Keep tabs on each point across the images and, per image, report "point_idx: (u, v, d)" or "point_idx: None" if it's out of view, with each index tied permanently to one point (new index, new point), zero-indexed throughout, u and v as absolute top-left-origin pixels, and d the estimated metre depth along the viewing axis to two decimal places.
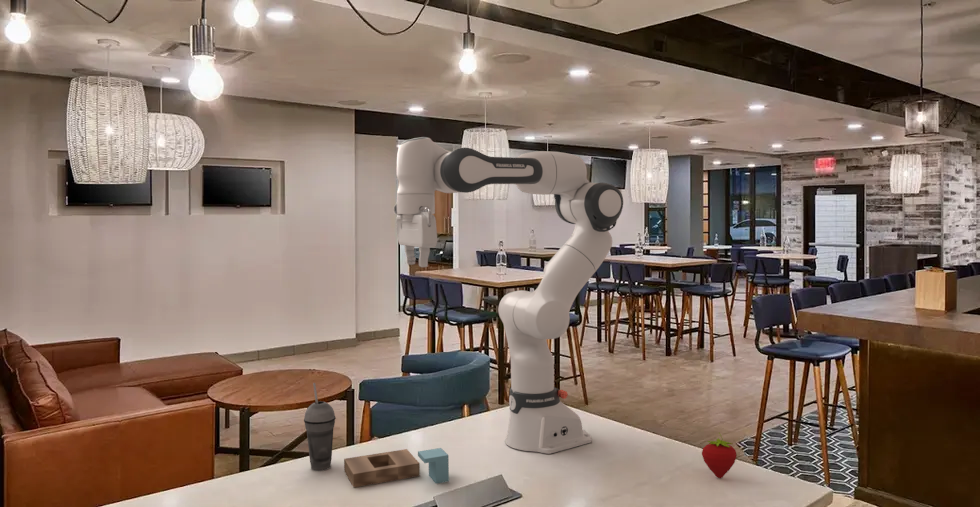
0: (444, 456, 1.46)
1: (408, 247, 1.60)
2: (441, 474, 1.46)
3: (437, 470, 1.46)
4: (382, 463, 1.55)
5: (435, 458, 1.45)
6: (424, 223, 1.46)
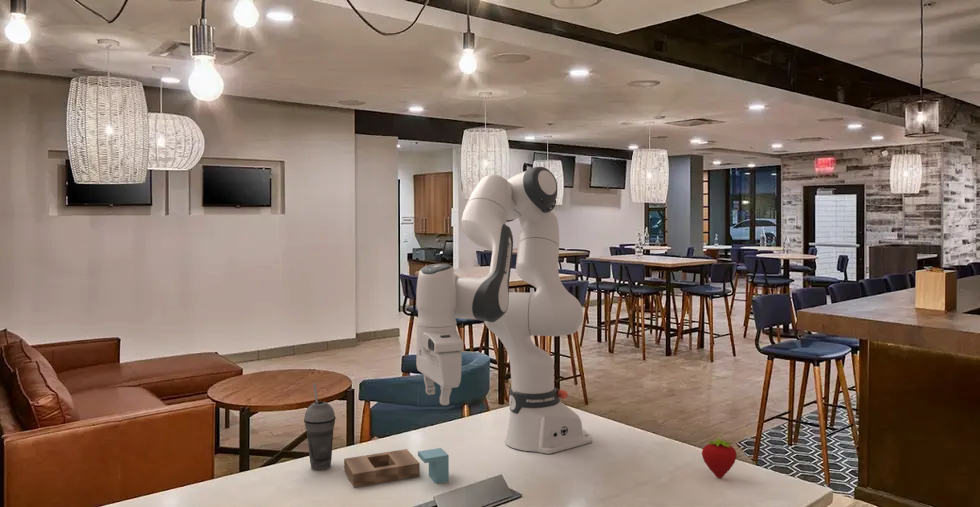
0: (444, 456, 1.46)
1: None
2: (441, 474, 1.46)
3: (437, 469, 1.46)
4: (382, 463, 1.55)
5: (435, 458, 1.45)
6: None
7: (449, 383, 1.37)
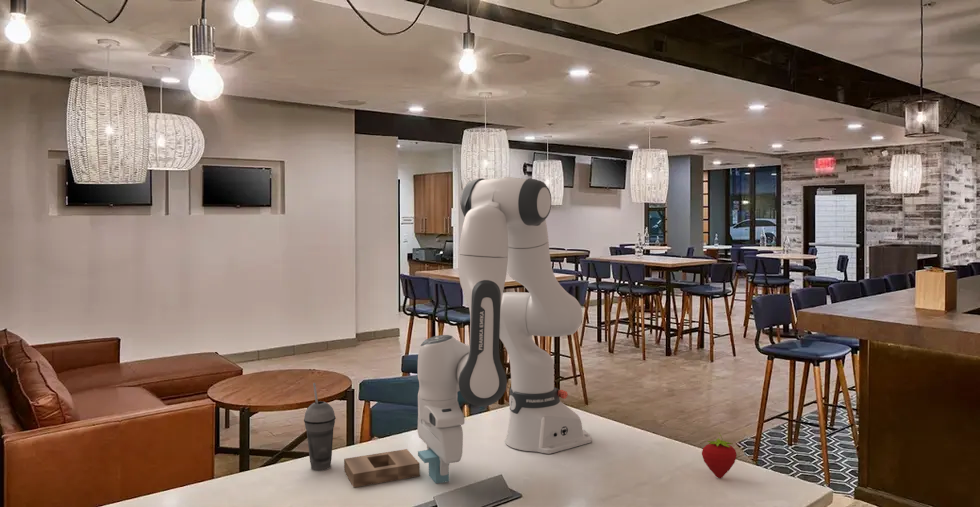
0: None
1: None
2: None
3: (437, 469, 1.45)
4: (382, 463, 1.55)
5: (435, 458, 1.45)
6: None
7: (450, 459, 1.38)
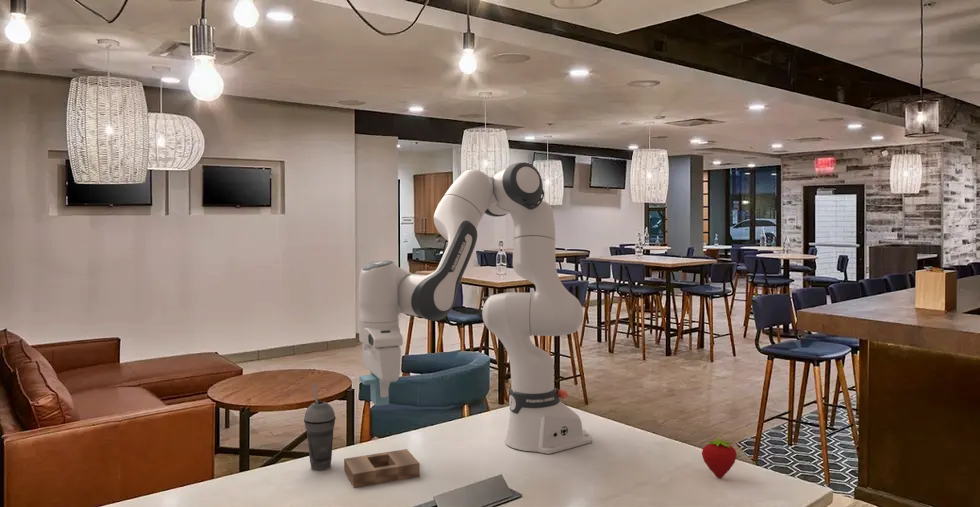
0: None
1: None
2: (382, 397, 1.48)
3: (377, 392, 1.47)
4: (382, 463, 1.55)
5: (375, 380, 1.47)
6: None
7: (387, 377, 1.40)
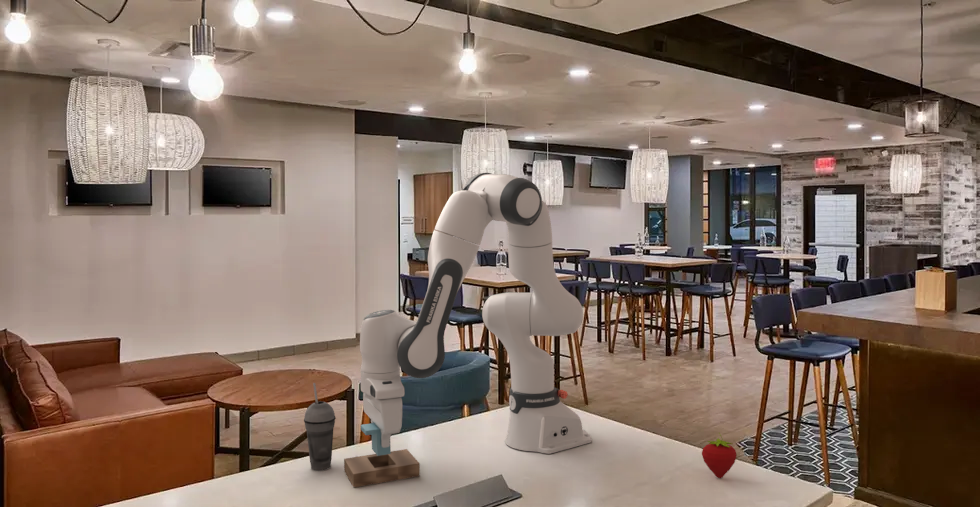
0: None
1: None
2: None
3: (379, 442, 1.48)
4: (382, 463, 1.55)
5: (376, 430, 1.47)
6: None
7: (389, 429, 1.41)
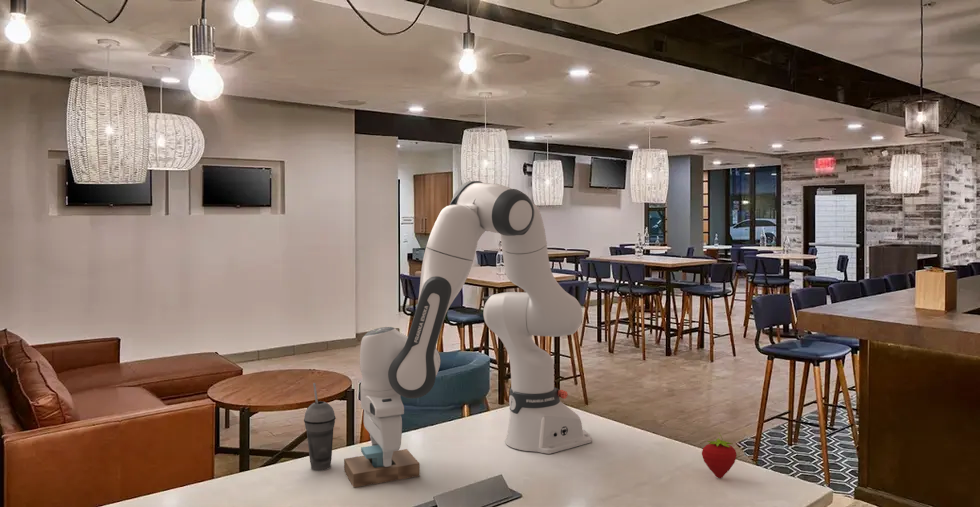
0: None
1: None
2: None
3: (379, 465, 1.48)
4: None
5: (377, 454, 1.48)
6: None
7: (389, 447, 1.41)
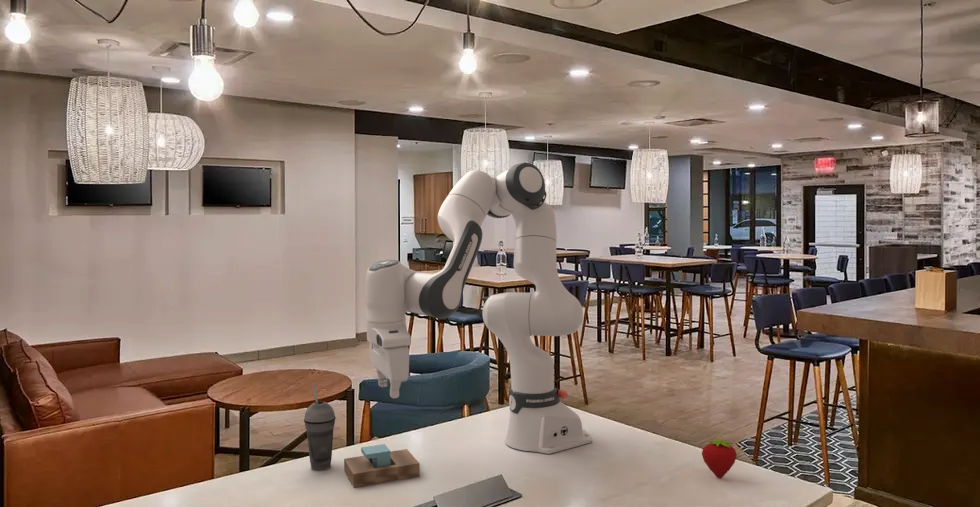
0: (385, 452, 1.49)
1: None
2: None
3: (379, 465, 1.48)
4: None
5: (377, 454, 1.48)
6: None
7: (397, 377, 1.41)
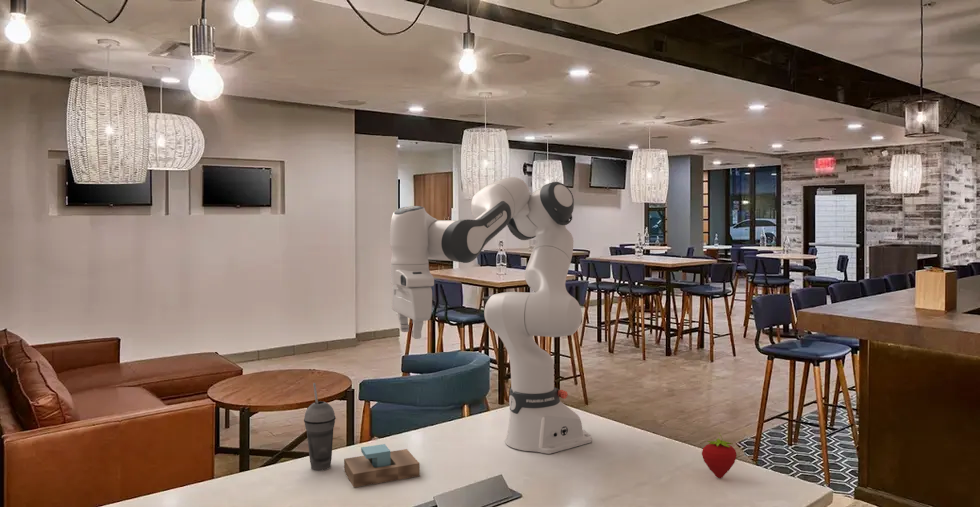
0: (385, 452, 1.49)
1: None
2: None
3: (379, 465, 1.48)
4: None
5: (377, 454, 1.48)
6: None
7: (420, 316, 1.45)
